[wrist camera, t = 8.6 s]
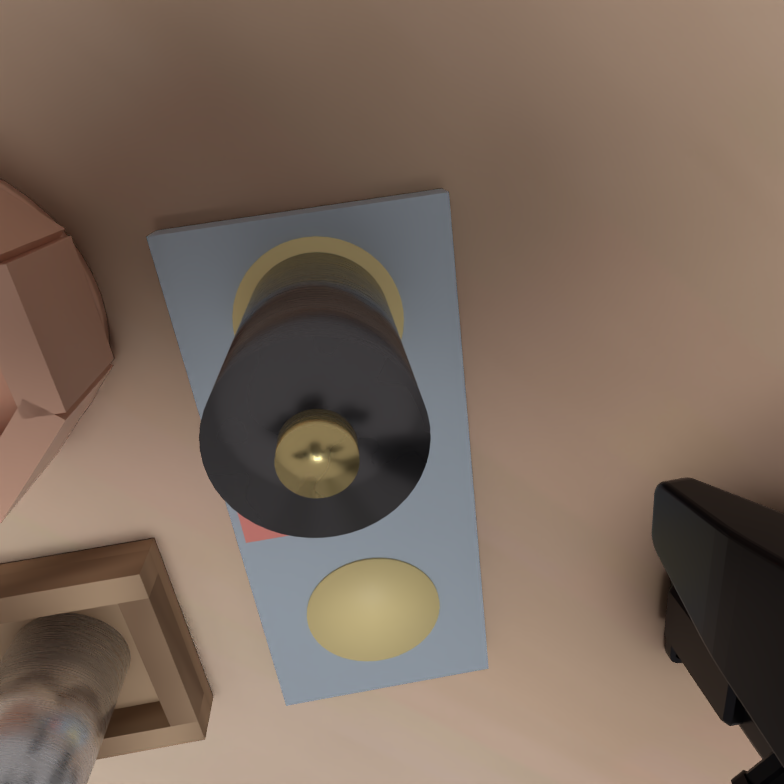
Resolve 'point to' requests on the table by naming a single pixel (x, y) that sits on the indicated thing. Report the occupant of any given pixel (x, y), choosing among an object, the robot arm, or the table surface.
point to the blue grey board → (416, 513)
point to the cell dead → (315, 404)
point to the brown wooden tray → (136, 625)
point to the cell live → (58, 698)
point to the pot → (43, 342)
